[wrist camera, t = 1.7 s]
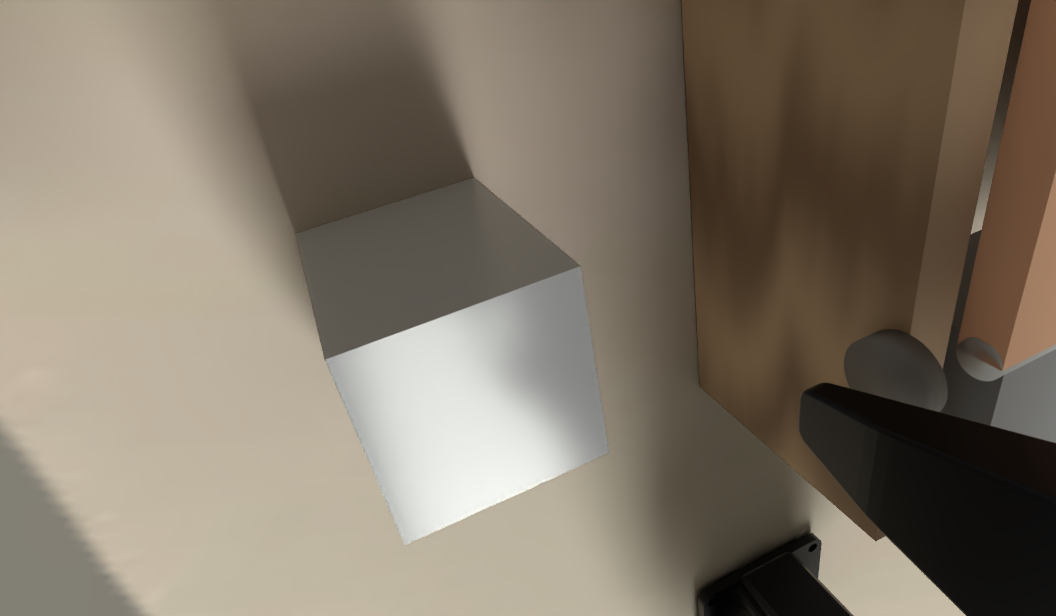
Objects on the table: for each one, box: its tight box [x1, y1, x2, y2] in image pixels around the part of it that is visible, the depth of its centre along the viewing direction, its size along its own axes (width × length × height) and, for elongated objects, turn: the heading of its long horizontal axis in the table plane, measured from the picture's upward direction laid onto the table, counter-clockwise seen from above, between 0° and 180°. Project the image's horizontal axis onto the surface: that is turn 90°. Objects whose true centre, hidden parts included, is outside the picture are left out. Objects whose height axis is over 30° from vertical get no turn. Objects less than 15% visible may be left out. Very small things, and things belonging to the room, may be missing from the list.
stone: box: [295, 178, 609, 545], centre depth 14 cm, size 4×4×6 cm
